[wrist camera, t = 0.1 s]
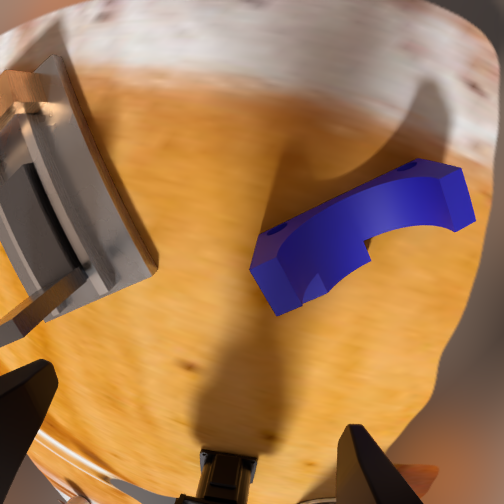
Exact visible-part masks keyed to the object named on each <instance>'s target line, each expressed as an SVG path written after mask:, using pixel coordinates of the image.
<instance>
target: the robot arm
mask: <svg viewBox="0 0 504 504" xmlns="http://www.w3.org/2000/svg"><path fill="white" fill-rule="evenodd" d="M57 388H58V378H57V375H56V372H55V369H54V366H53V364H52V363H51V362H49V361H47V360H44V359H39V360H37V361H34V362H32V363H30V364H27V365H25V366H23V367H20V368H18V369H16V370H13V371H11V372H9V373H6V374H4V375H2V376H0V504H3V502H4V500H5V498H6V495H7V493H8V490H9V489H10V487H11V484H12V482H13V480H14V478H15V476H16V474H17V472H18V470H19V467H20V465H21V463H22V461H23V459H24V457H25V455H26V453H27V451H28V449H29V447H30V446H31V444H32V442H33V440H34V438H35V436H36V434H37V432H38V430H39V429H40V427H41V425H42V423H43V420H44V418H45V416H46V413H47V411H48V409H49V406H50V404H51V401H52V399H53V397H54V395H55V392H56V390H57ZM200 465H201V478H200V481H199V485H198V489H197V493H196V497H191V496H186V495H185V494H181V495H180V497H179V498H176V501H175V504H247V501H248V494H249V487H250V484H251V483H253V478H254V474H255V470H256V466H257V459H256V458H253V457H245V456H238V455H231V454H225V453H219V452H213V451H207V450H201V452H200ZM336 504H423V502H422V501H421V500H420V499H419V497H418V496H417V495H416V493H415V492H414V491H413V490H412V488H411V487H410V486H409V485H408V483H407V482H406V481H405V479H404V478H403V477H402V476H401V474H400V473H399V472H398V470H397V469H396V468H395V467H394V465H393V464H392V463H391V461H390V460H389V459H388V457H387V456H386V455H385V454H384V452H383V451H382V450H381V448H380V447H379V446H378V445H377V443H376V442H375V441H374V439H373V438H372V437H371V435H370V434H369V433H368V431H367V430H366V429H365V428H364V426H363V425H361V424H348V425H347V426H346V428H345V430H344V432H343V434H342V435H341V437H340V439H339V442H338V448H337V472H336Z"/></svg>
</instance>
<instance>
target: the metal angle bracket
mask: <svg viewBox="0 0 504 504" xmlns="http://www.w3.org/2000/svg"><path fill="white" fill-rule="evenodd" d="M0 204H1V207H2V209H3V212H4V214H5V216H6V219H7V221H8V223H9V226H10V228H11V230H12V232H13V234H14V237H15V239H16V241H17V243H18V245H19V247H20V249H21V251H22V253H23V255H24V257H25V259H26V261H27V263H28V265H29V267H30V269H31V270H32V272H33V274H34V276H35V278H36V280H37V281H38V283H39V285H40V287H41V289H39V290H37V291H36V292H35V293H33V294H32V295H31V296H29V297H28V298H27V299H25V300H24V301H23V302H22V303H20V304H19V305H18V306H17V307H15V308H14V309H13V310H12V311H10V312H9V313H8V314H7V315H5V316H4V317H3V318H2V319H0V347H2V346H5V345H7V344H9V343H12V342H14V341H16V340H19V339H21V338H23V337H25V336H26V335H27V334H28V333H29V332H30V331H31V330H32V329H33V328H34V327H35V326H36V325H38V324H39V323H40V322H41V321H42V320H43V319H44V318H45V317H46V316H47V315H49V314H50V313H51V312H52V311H53V310H54V309H55V308H56V307H58V306H59V305H60V304H61V303H62V302H63V301H64V300H66V299H67V298H68V297H69V296H70V295H71V294H73V293H74V292H75V291H76V290H77V289H78V288H80V287H81V286H82V285H83V284H84V283H86V282H87V279H88V278H89V277H88V275H87V273H86V272H85V270H84V268H83V266H82V264H81V263H80V261H79V259H78V257H77V255H76V253H75V252H74V250H73V248H72V246H71V244H70V242H69V240H68V238H67V236H66V234H65V232H64V230H63V228H62V226H61V224H60V222H59V220H58V218H57V216H56V214H55V212H54V209H53V207H52V205H51V203H50V201H49V198H48V196H47V194H46V192H45V189H44V187H43V185H42V182H41V180H40V178H39V175H38V173H37V170H36V168H35V165H34V163H33V162H32V163H27V164H23V165H22V166H21V167H20V168H19V169H18V170H17V171H16V172H15V173H14V174H13V175H12V176H11V177H10V178H9V179H8V180H7V181H6V182H5V184H4V185H3V186H2V187H1V188H0Z"/></svg>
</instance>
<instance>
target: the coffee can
mask: <svg viewBox="0 0 504 504" xmlns="http://www.w3.org/2000/svg"><path fill="white" fill-rule="evenodd" d="M300 504H336V498H323V499H316V500H310V501H306V502H302V503H300Z"/></svg>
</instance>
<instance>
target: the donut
mask: <svg viewBox="0 0 504 504" xmlns="http://www.w3.org/2000/svg"><path fill="white" fill-rule="evenodd" d="M66 504H89V502H88V501H87V500H86V499H85V498H83V497H81V496H75V497H73V498H71V499H70V500H68V502H67V503H66Z"/></svg>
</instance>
